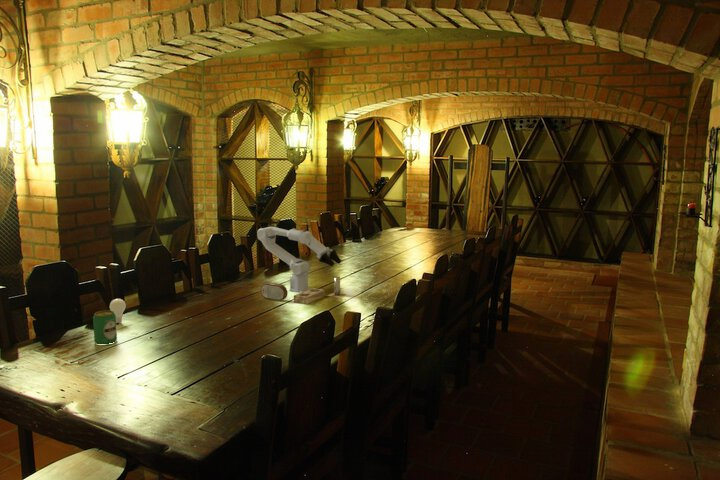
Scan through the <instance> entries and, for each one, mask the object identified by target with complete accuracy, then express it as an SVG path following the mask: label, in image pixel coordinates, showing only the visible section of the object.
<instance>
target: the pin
mask: <svg viewBox="0 0 720 480" xmlns="http://www.w3.org/2000/svg"><path fill="white" fill-rule="evenodd" d="M333 280H334V286H333V287H334V288H333V289H334V292H333V293H334V295H335V296H339V295H340V293H341V277H340V276H334V279H333Z"/></svg>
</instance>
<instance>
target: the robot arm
mask: <svg viewBox="0 0 720 480" xmlns="http://www.w3.org/2000/svg"><path fill="white" fill-rule="evenodd" d="M256 233H257V234H256V235H257V240H259V241H260V242H261V243H262V245H263V247H264V248H265V250H267V251H268V252H270V253H271V254H272V255H274V256H276V257H277V259H279V260H281V261H283V262H284V263H286V264H287V265H288V266H289V270H291V271H292V274H291V275H290V278H289V289H288V290H289V291H290V292H296V293H297V292H298V293H301V292H303V291H306V290H308V289H310V288H309V272H310V270H311V264H310V262H308V261H307V260H303V259H301V258H297V257H296V256H294V255H293V254H291V253H289V252H288V251H287V250H286V249H284V248H283V247H281V246H280V245H279V244H277V243H276V238H277V237H276V236H281V237H282V236H283V237H287V238H288V240H290V241H295V242H299V243H300V244H303V245H305V246H307V247H308V248H309V249H310V250H312V251H313V252H314V253H315V254H316V256H315V257H316V258H317V259H319V262H320V263H323V264H326V265H328V266H331V267H333V266H334V265H335V263H336V264H339V265H340V264H341V262H342V260H341V258H340V257H339V255H338V254H337V253H338V252H337V250H335V249H331V248H330V247H329V246H325V245H324V244H323V243H321V242H320V241H319V240H318V239H316V237H315V236H314V235H313V233H312V232H311V231H309V230H306V231H304V230H303V229H301V230H298V229H296V228H292V229H289V230H288V229H284V228H279V227H277V226H268V227H263V228H262V227H261V228H259V229H258V230H257V231H256Z"/></svg>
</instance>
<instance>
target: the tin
mask: <svg viewBox="0 0 720 480" xmlns="http://www.w3.org/2000/svg"><path fill="white" fill-rule="evenodd" d="M260 294H261V296H262V297H263V298H264V299H267V300H273V301H283V300H285V299H286V298H287V297H288V290H287V287H286V286H285V285H284V284H282V283H277V282H271V281H270V282H269V281H268V282H265V283H263V284H262V285H261V286H260Z"/></svg>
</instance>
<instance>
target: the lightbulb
mask: <svg viewBox="0 0 720 480" xmlns="http://www.w3.org/2000/svg"><path fill="white" fill-rule="evenodd" d="M126 306H127V305H126V302H125V300H123V299H121V298H115V299H112V300H111V301H110V303H109V311H113V312H114V314H115V315H116V324H117V323H120V324H121V323H122V322H123V319H122V317H123V313H124V312H125V310H126V308H127V307H126Z"/></svg>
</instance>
